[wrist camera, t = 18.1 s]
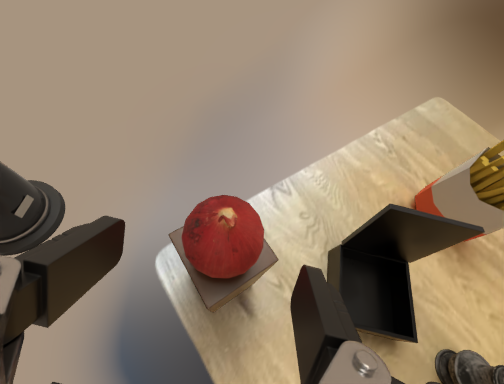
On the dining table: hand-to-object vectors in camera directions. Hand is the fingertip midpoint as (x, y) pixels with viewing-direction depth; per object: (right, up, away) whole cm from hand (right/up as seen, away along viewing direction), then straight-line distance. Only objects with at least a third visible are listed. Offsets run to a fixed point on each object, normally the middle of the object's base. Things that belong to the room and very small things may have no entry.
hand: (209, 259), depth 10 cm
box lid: (+22, -3, +21) cm, 30 cm away
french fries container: (+38, -2, +36) cm, 52 cm away
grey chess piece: (+31, -23, +24) cm, 46 cm away
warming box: (+19, -13, +27) cm, 36 cm away
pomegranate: (-1, -2, +10) cm, 10 cm away
